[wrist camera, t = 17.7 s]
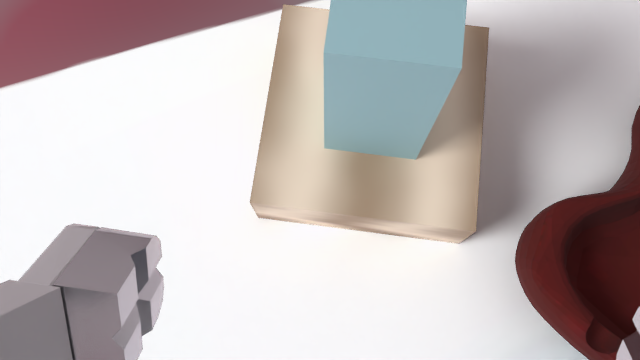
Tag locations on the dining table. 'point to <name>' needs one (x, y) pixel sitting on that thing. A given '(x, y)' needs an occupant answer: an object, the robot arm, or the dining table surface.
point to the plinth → (360, 168)
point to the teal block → (389, 72)
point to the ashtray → (588, 263)
